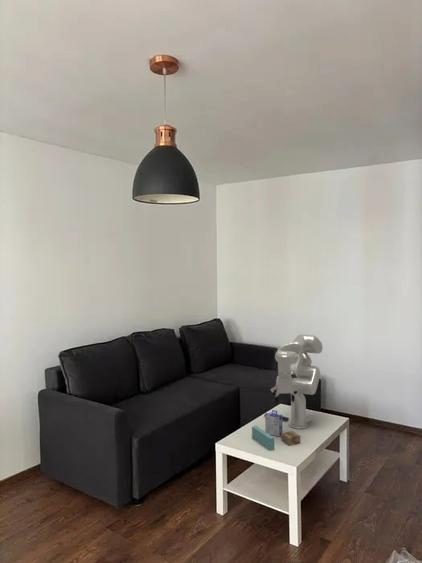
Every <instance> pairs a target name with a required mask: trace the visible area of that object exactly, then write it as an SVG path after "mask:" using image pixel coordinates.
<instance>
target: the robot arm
mask: <svg viewBox="0 0 422 563" xmlns="http://www.w3.org/2000/svg"><path fill="white" fill-rule="evenodd" d="M322 343H323V342H322V341H321V340H320V339H319V338H318V336H315V335H312V334H299V335H297V336H296V337H295V338H294V340H293V341H292V342H290V343H288V344H287V343H286V344H284V345H281V346H280V347H279V348H278V349H277V351H276V352H275V353H274V354H275V355H274V359H275V362H277V372H278V374H277V376H276V380H275V385H274V387H272V388H270V391H271V394H272V395H273V396H274V400H275V401H274V402H276V404H279V397H278V396H279V395H280V394H290V414H291V415H290V421H289V423H288V426H289V427H290V428H292V429H297V430H303V429H307V428H308V427H309V422H312V421H313V419H312V418H311V417H309V418H308V417H307V415H306V414H307V412H306V411H307V406H306V405H307V402H306V401H307V400H306V396H305V395H308V396H309V395H311V396H313V395H315V394H316V392H317V389H318V386H319V381H320V378H321V370H320V368H319V367H318V366H315V365H312V362H313V361H312V358H311V357H310V355H309V354H317V355H318V354H321V353H322V351H323V344H322ZM308 353H309V354H308ZM295 364H297V366H296V370H295V376H296V377H294V378H293V377H292V375H294V372H293V371H291V370H292V369H291V368H292V366H291V365H295ZM275 391H276V392H275Z"/></svg>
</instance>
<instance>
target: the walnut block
mask: <svg viewBox="0 0 422 563" xmlns="http://www.w3.org/2000/svg"><path fill="white" fill-rule="evenodd" d="M281 441H282V442H283V444H285V445H287V446H289V447H290V446H295V445H300V444H301V435H300V434H298V433H297V432H296V431H294V430H291V431H285V432H283V433H282V435H281Z"/></svg>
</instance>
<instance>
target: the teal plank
mask: <svg viewBox="0 0 422 563" xmlns="http://www.w3.org/2000/svg"><path fill="white" fill-rule="evenodd" d="M251 437H252V440H254V441H256V442H257V443H259V444H260V445H261V446H263V447H265V448H266V449H267V450H269V451H274V450H275V437H274V435H270V434H268V433H266V432H265V430H263V429H262V428H260V427H259V426H257V425H253V426H251Z"/></svg>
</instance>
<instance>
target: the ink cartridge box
mask: <svg viewBox="0 0 422 563" xmlns="http://www.w3.org/2000/svg"><path fill="white" fill-rule="evenodd" d="M264 418H265V424H264V426H265V428H264V429H265V430H264V431H265V432H266V433H268V434H270V435H271V436H273V437H274V436H276V437H280V436H281V437H282V433H284V432H283V414H278V410H274V409H273V410H272V411H271V412H268V413H266V414H265V416H264Z"/></svg>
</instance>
